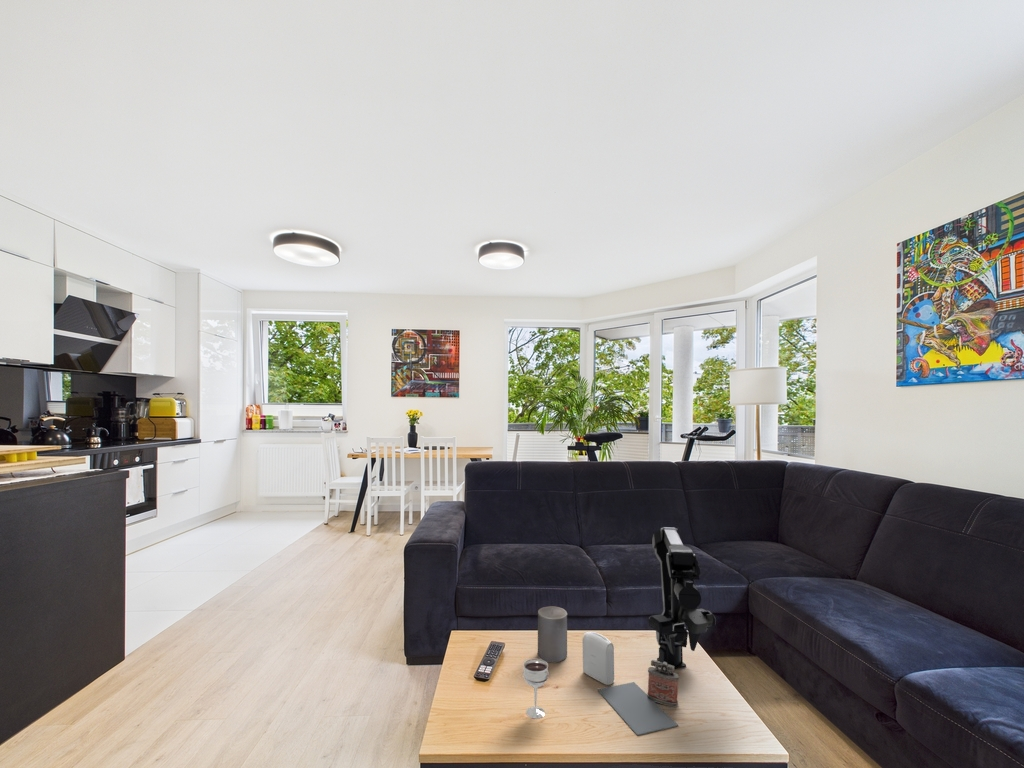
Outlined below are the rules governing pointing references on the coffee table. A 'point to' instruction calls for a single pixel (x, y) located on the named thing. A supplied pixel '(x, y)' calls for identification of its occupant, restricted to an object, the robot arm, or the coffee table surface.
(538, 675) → the wineglass
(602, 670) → the photo printer
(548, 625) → the pillar candle
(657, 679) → the lighter
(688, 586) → the robot arm
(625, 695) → the rubber mat
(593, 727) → the coffee table surface
